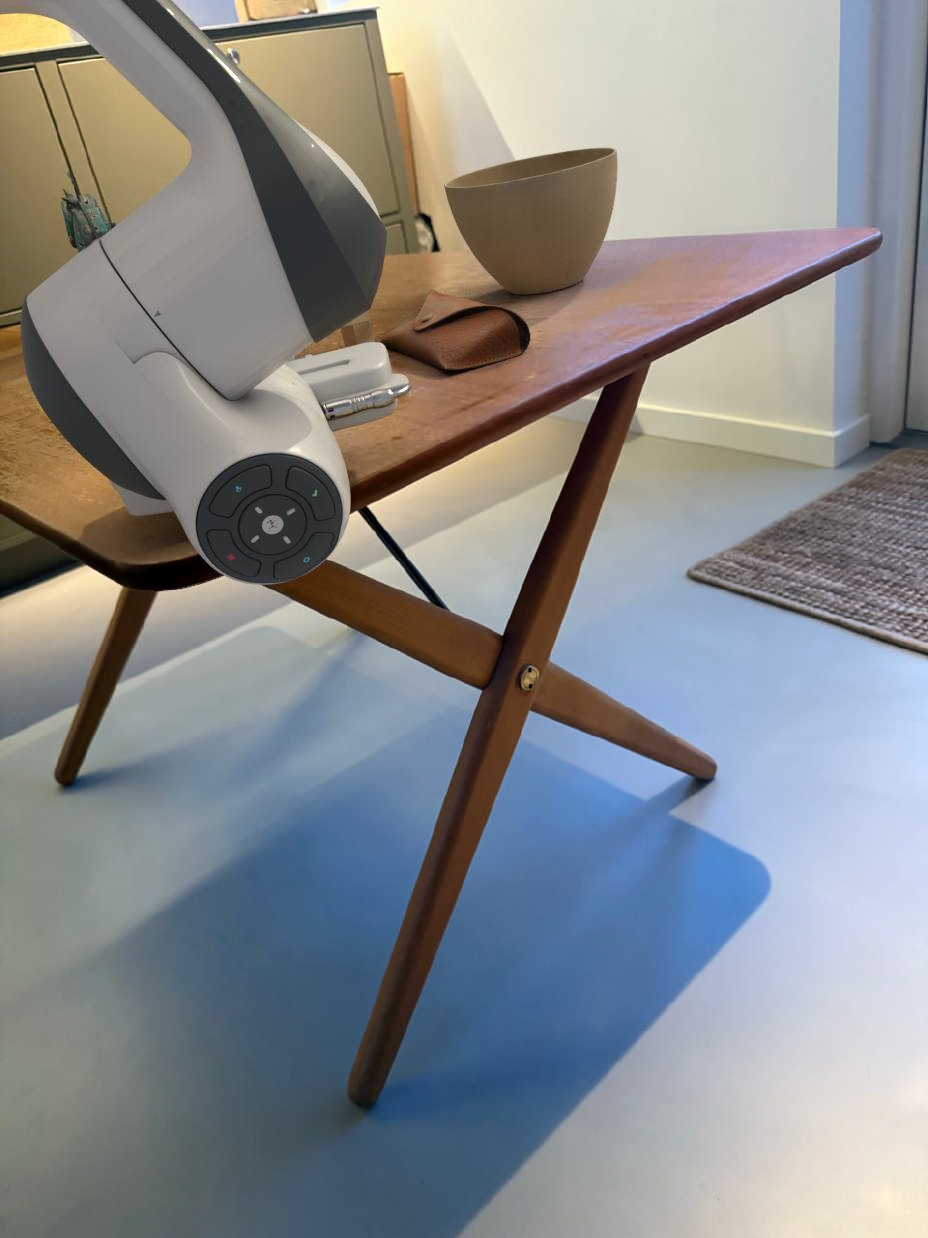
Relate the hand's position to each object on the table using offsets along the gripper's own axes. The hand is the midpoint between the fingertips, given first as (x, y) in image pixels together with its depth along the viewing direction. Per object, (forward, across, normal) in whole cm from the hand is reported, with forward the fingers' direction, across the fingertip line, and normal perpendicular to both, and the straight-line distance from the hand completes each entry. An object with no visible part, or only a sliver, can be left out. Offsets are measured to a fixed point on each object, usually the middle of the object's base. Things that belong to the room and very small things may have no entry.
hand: (241, 382), depth 72 cm
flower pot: (+34, -34, +6) cm, 49 cm away
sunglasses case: (+17, -19, +6) cm, 26 cm away
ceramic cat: (+73, +14, +6) cm, 75 cm away
